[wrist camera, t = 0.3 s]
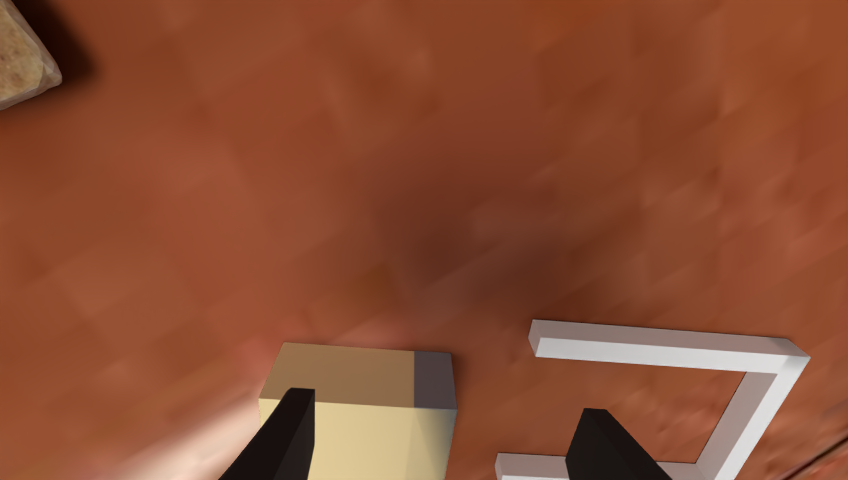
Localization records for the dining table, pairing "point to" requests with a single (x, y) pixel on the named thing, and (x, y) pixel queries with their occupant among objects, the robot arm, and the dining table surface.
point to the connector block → (370, 409)
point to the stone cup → (22, 59)
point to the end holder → (748, 409)
